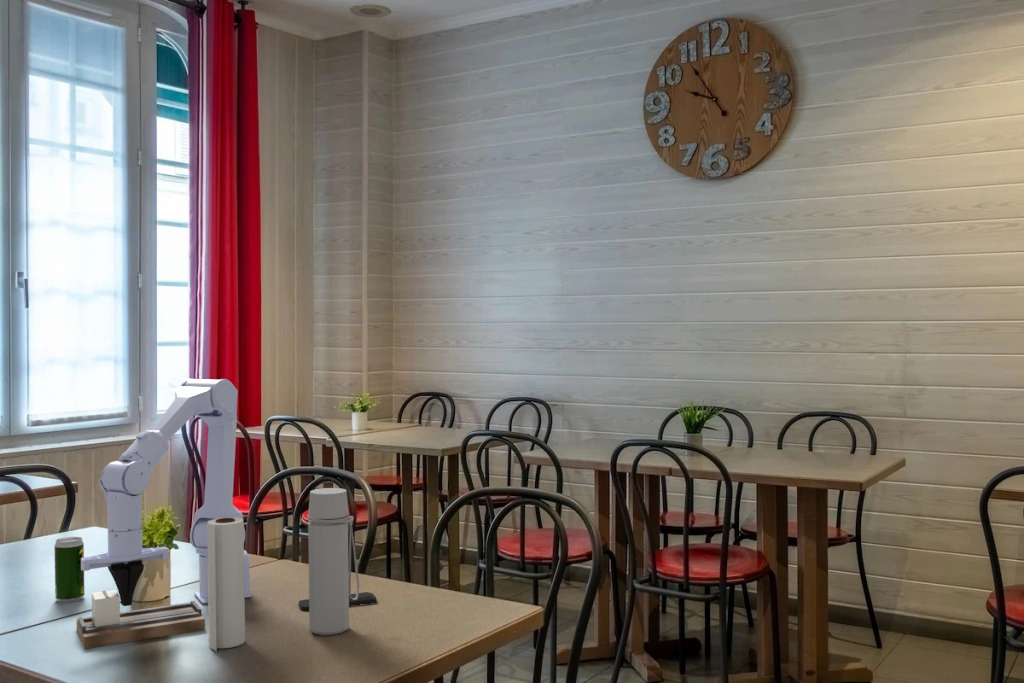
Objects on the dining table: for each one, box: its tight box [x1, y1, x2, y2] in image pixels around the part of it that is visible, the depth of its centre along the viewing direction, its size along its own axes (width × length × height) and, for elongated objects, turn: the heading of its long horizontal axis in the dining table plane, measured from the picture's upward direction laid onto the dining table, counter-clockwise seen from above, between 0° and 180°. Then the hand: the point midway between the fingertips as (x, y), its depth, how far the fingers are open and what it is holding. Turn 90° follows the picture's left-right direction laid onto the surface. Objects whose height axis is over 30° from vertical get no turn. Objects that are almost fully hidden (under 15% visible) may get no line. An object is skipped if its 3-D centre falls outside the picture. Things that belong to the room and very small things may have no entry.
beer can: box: [53, 536, 85, 604], centre depth 196 cm, size 5×5×12 cm
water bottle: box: [306, 487, 360, 636], centre depth 175 cm, size 9×8×25 cm
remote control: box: [297, 591, 378, 612], centre depth 192 cm, size 5×2×15 cm
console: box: [75, 600, 206, 650], centre depth 176 cm, size 20×12×3 cm, turn 120°
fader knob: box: [91, 589, 121, 627], centre depth 173 cm, size 4×5×5 cm
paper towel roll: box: [207, 518, 246, 653], centre depth 168 cm, size 7×6×21 cm
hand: (126, 604), depth 175 cm, fingers closed
